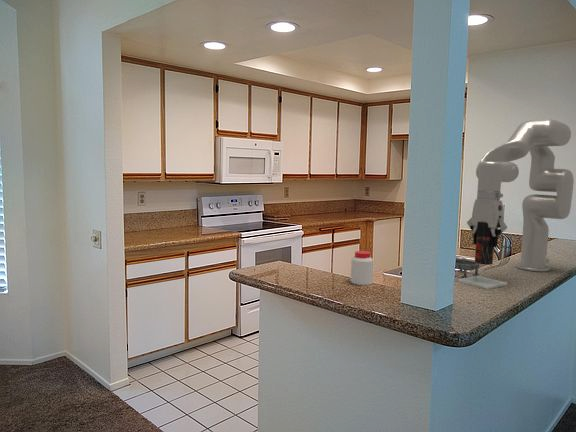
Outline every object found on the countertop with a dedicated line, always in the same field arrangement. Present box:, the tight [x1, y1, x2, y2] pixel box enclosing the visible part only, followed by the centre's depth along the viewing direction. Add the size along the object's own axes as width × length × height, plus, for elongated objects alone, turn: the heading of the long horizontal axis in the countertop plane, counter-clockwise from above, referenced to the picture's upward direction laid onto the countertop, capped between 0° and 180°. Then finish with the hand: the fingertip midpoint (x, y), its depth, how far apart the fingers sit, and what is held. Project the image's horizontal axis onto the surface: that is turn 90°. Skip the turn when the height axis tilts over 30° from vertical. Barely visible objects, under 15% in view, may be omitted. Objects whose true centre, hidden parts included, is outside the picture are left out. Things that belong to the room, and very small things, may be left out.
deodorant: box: [474, 222, 495, 266], centre depth 160 cm, size 6×6×15 cm
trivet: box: [457, 275, 508, 290], centre depth 161 cm, size 12×12×1 cm
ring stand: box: [454, 258, 480, 279], centre depth 174 cm, size 11×11×5 cm
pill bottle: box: [350, 250, 374, 286], centre depth 159 cm, size 8×8×11 cm
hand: (484, 245), depth 160 cm, fingers closed on deodorant, 6 cm apart
